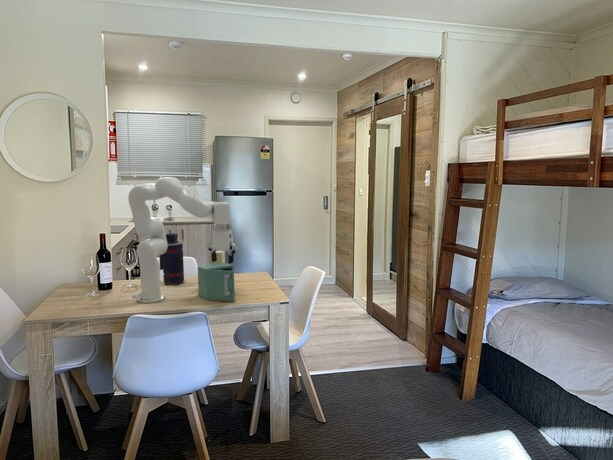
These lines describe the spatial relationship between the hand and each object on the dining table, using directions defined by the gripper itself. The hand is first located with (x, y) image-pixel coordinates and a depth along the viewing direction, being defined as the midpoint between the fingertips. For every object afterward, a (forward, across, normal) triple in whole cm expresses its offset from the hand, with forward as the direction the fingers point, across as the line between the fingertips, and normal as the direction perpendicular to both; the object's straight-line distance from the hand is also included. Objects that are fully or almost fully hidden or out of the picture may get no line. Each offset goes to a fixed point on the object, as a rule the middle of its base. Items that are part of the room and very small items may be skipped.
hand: (222, 262), depth 218 cm
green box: (+22, +6, -3) cm, 23 cm away
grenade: (+23, +56, -28) cm, 66 cm away
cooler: (+22, +15, -15) cm, 30 cm away
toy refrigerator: (+22, +24, -30) cm, 44 cm away
